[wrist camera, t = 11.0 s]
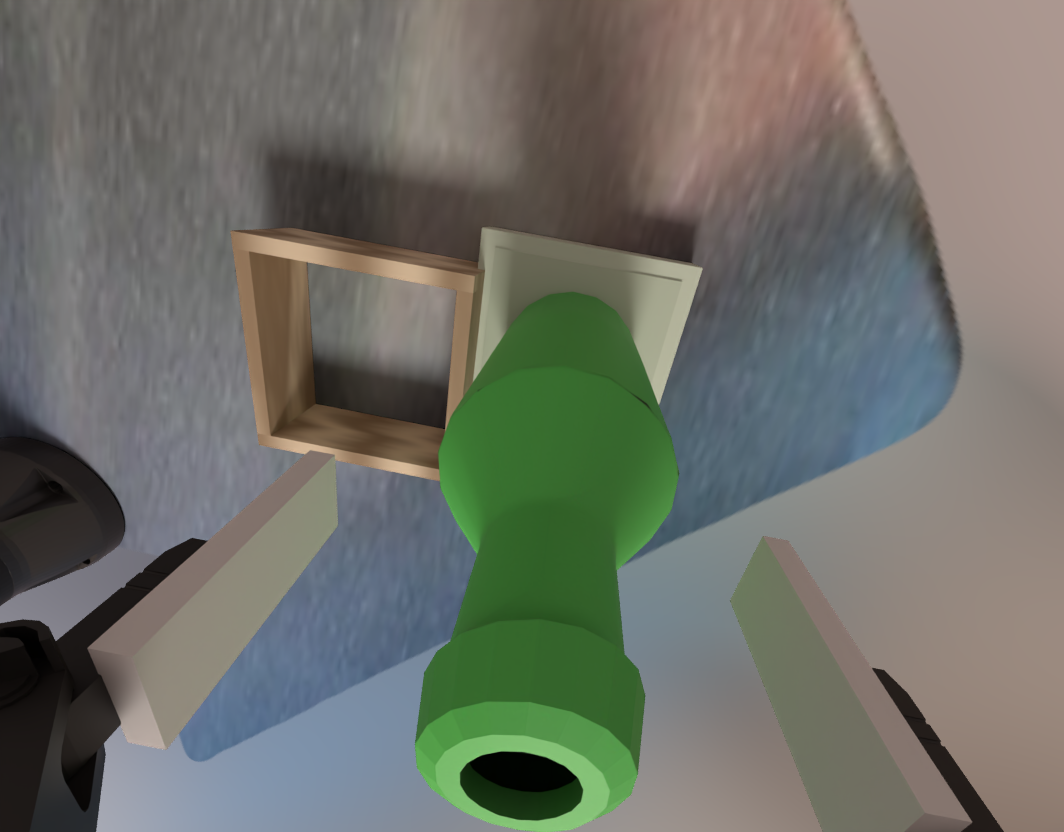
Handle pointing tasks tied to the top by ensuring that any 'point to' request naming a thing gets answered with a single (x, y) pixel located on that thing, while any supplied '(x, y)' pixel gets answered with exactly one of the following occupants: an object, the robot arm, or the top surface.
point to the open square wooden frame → (287, 359)
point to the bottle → (546, 572)
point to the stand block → (586, 291)
